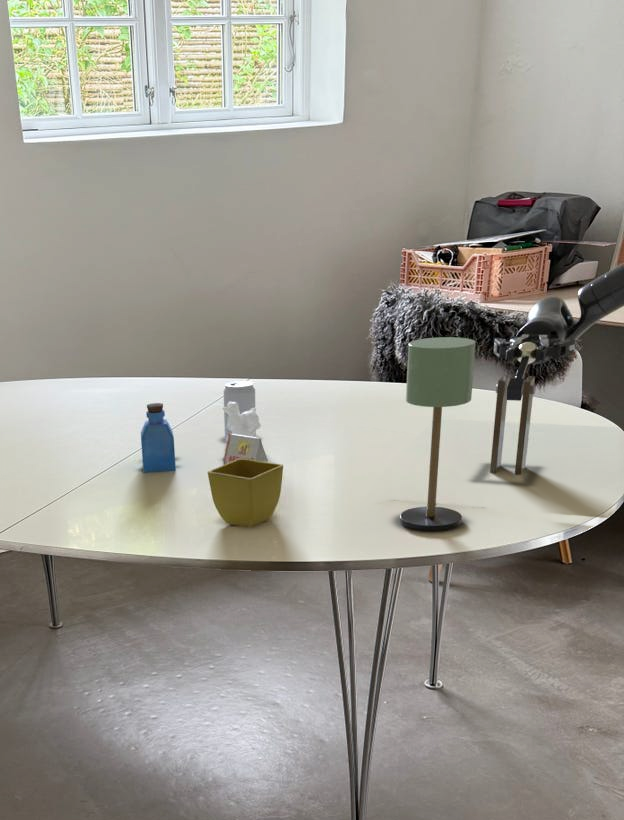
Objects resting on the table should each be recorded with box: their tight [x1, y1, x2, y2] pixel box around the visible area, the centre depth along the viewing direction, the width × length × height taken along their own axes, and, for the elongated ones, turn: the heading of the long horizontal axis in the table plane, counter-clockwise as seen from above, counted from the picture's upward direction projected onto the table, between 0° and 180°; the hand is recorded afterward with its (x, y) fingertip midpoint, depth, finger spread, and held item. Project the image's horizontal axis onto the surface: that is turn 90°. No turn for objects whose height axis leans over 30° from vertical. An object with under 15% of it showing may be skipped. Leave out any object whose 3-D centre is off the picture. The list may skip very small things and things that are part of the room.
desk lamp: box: [399, 336, 477, 533], centre depth 139 cm, size 9×9×27 cm
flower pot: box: [207, 459, 284, 528], centre depth 150 cm, size 9×9×9 cm
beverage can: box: [223, 380, 257, 442], centre depth 194 cm, size 6×6×12 cm
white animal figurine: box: [222, 401, 262, 443], centre depth 180 cm, size 8×7×12 cm
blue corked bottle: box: [140, 402, 177, 473], centre depth 182 cm, size 6×6×12 cm
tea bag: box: [222, 434, 269, 465], centre depth 164 cm, size 4×7×10 cm, turn 46°
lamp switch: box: [507, 342, 538, 402], centre depth 159 cm, size 13×4×4 cm, turn 151°
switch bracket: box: [489, 374, 537, 475], centre depth 159 cm, size 10×8×17 cm
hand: (524, 356), depth 159 cm, fingers closed on lamp switch, 3 cm apart
